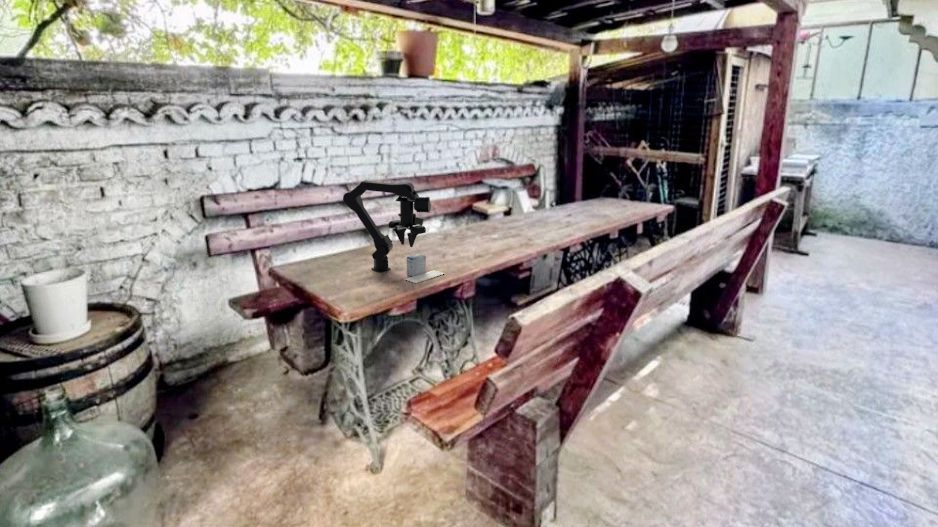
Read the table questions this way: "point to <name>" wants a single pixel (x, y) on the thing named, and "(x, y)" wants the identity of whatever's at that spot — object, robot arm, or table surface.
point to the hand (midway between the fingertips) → (407, 245)
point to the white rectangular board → (424, 276)
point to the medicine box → (416, 264)
